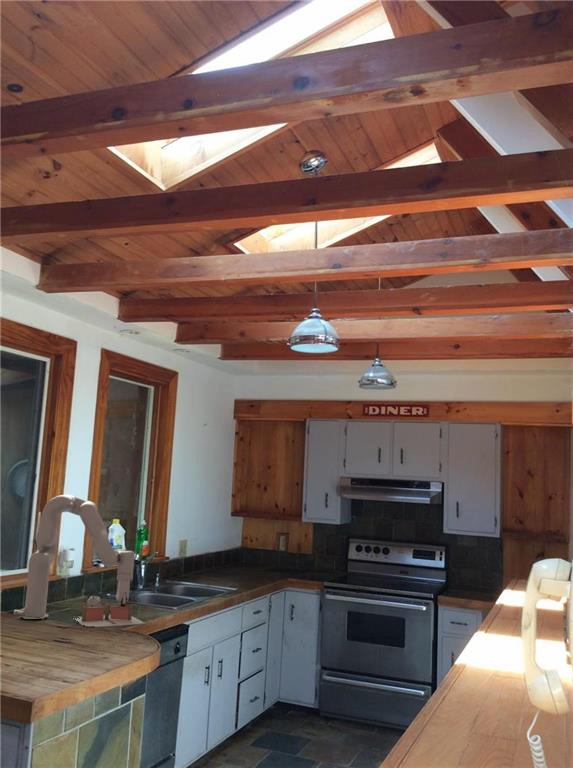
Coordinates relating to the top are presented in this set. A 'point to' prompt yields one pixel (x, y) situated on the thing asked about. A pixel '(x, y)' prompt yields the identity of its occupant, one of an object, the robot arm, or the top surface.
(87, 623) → the card
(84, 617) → the fence fixed
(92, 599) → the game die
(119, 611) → the fence panel
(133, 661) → the top surface
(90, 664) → the top surface
